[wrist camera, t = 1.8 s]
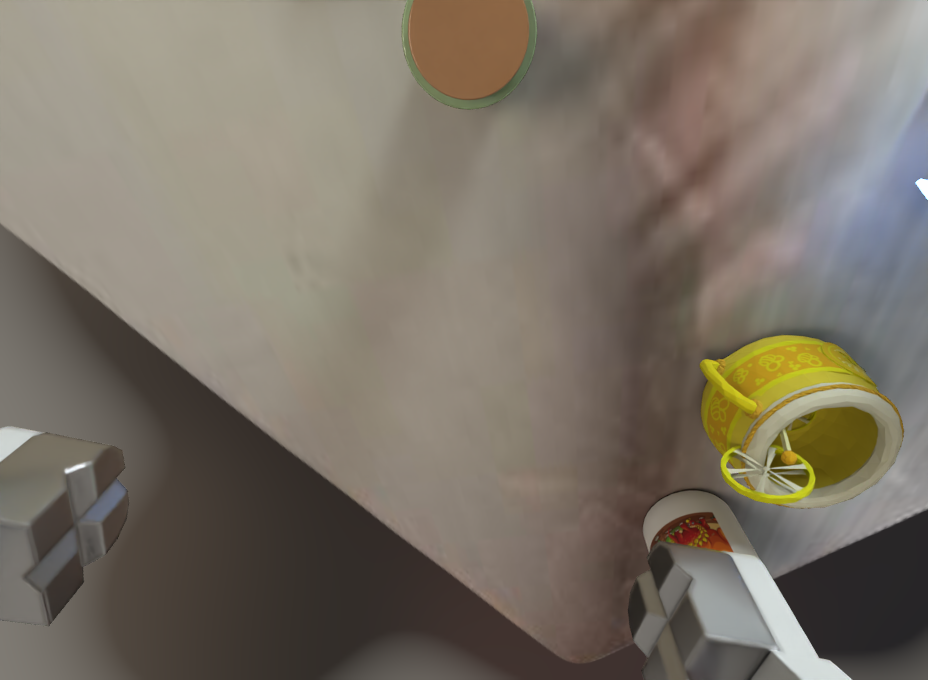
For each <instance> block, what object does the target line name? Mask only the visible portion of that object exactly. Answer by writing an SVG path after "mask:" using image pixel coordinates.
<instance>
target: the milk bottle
mask: <svg viewBox="0 0 928 680" xmlns="http://www.w3.org/2000/svg"><path fill="white" fill-rule="evenodd" d="M643 535H644V538H645V541H646V545H647V548H648V551H649V552H650V551H651V549H652V547H653V546H654V545H655V544H656V543H658V542H659V541H665V542H671V543H677V544H683V545H689V546H695V547H701V548H708V549H714V550H719V551H727V552H733V553H740V554H746V555H752V556H756V557H757V558H758V559H759V560H760V558H759V557H758V555H757V553H756V551H755V550H754V548H753V546H752V545H751V543H750V541H749V539H748V538H747V536H746V534H745V532H744V531H743V529H742V527H741V526H740V524H739V522H738V520H737V519H736V517H735V515H734V514H733V512H732V511H731V509H730V507H729V506H728V505H727V504H726V503H725V502H724V501H723V500H721V499H720V498H718V497H717V496H715V495H713V494H710V493H707V492H703V491H690V490H689V491H682V492H678V493H674V494H671V495H669V496H667V497H664V498H663V499H661V500H660V501H658V502H657V503H656V504H655V505H654V506H652V507H651V509H650V510H649V512H648V513H647V515H646V517H645V520H644V525H643ZM760 561H761V560H760Z"/></svg>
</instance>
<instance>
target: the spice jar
mask: <svg viewBox="0 0 928 680" xmlns="http://www.w3.org/2000/svg"><path fill="white" fill-rule="evenodd" d="M536 39H537V22H536V14H535V10H534V6H533V3H532V0H407V3H406V5H405V9H404V14H403V19H402V45H403V50H404V55H405V58H406V61H407V64H408V66H409V68H410V70H411V73H412V74H413V76H414V78H415V79H416V81H417V82H418V83H419V85H420V86H421V87H422V88H423V89H424V90H425V91H426V92H427V93H428V94H429V95H430V96H432V97H433V98H434V99H436V100H437V101H439V102H441V103H443V104H445V105H448V106H450V107H454V108H458V109H468V110H470V109H479V108H484V107H487V106H490V105H493V104H495V103H497V102H499V101H500V100H502V99H503V98H505V97H506V96H508V95H509V94H510V93H511V92H512V91H513V90H514V89H515V88H516V87H517V86H518V85H519V83H520V82H521V81H522V79H523V78H524V76H525V74H526V73H527V71H528V69H529V66H530V64H531V61H532V59H533V56H534V51H535V47H536Z"/></svg>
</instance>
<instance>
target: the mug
mask: <svg viewBox="0 0 928 680" xmlns="http://www.w3.org/2000/svg"><path fill="white" fill-rule="evenodd" d="M860 367H861V366H860ZM860 367H859V366H858V364H857V363H856V362H855V361H854V360H853V359H852V358H851V357H850V356H849V355H848V354H847V353H846V352H845V351H844V350H843V349H842V348H840V347H839V346H837V345H836V344H833V343H830V342H823V341H821V340H819V339H815V338H809V337H804V336H791V335H780V336H774V337H768V338H763V339H761V340H758V341H756V342H753V343H751V344H748V345H746V346H744V347H743V348H741V349H739V350H738V351H736V352H734V353H733V354H731V355H729V356H728V357H726V358H724V359H718V360H716V361H713V360H708V359H705V360H702V362H701V363H700V369H701V370H702V372H703V374H704V375H705V377H706V378H707V379H708V381H707V384H706V386H705V389H704V391H703V396H702V404H701V418H702V422H703V426H704V429H705V431H706V433H707V435H708V437H709V439H710V440H711V442H712V443H713V444H714V446H715V447H716V449H717V450H718V451H719V452H720V453H721V454H722V455H723V457H722V459H721V472H722V477H723V478H724V480H725V482H726V483H727V484H729V485H730V486H731V487H732V488H733V489H734V490H736V491H737V492H738V493H740V494H742V495H744V496H746V497H749V498H751V499H753V500H755V501H759V502H764V503H772V504H776V505H779V506H785V507H791V508H801V509H804V508H808V509H809V508H822V507H827V506H831V505H834V504H837V503H840V502H843V501H846V500H850V499H853V498H854V497H856V496H857V495H859V494H861V493H862V492H864V491H865V490H867V489H868V488H870V487H872V486H873V485H875V484H876V483H877V482H878V481H879V480H880V479H881V478H882V477H883V476H884V474H885V473H886V472H887V471H888V470H889V469H890V468H891V466H892V465H893V464H894V463H895V460H896V457H897V454H898V452H899V449H900V447H901V444H902V441H903V437H904V435H903V433H904V429H903V423H902V420H901V416H900V414H899V412H898V410H897V408H896V407H895V405H894V404H893V403H892V402H891V401H890V400H889V399H888V398H887V397H886V396H884V395H882V394H880V393H879V391H878V390H877V388H876V387H877V385H876V384H875V383H874V382H873V381H872V380H871V379H870V378H869V377H868V375H867V374H866V373H865V372H866V371H865V372H864V370H863V369H861V368H862V367H861V368H860ZM727 461H728V462H729V463H730V464H731V465H732V466H733V467H734V468H735V469H728V468H726V463H727ZM732 473H739V474H732ZM741 477H744V479H745V481H746V482H747V485H748V486H750V489H751V490H750V489H748V488H746V487H744V486H742V485H741V484H739V483H737V482H736V481H735V480H734V479H733V478H741Z"/></svg>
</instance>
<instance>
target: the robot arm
mask: <svg viewBox="0 0 928 680" xmlns="http://www.w3.org/2000/svg"><path fill="white" fill-rule="evenodd" d="M916 184H917V186H918V187H919V188H920V190H921V191H922V192H923V194H924V195H925V197H926V198H927V199H928V180H925V179H919V180H918V181H917V182H916ZM124 469H125V463H124V457H123V451H122V450H121V449H119V448H117V447H115V446H112V445H107V444H102V443H97V442H92V441H86V440H82V439H77V438H72V437H67V436H61V435H57V434H51V433H47V432H46V433H42V432H37V431H32V430H28V429H23V428H17V427H12V426H8V427H4V428H0V620H2V621H10V622H18V623H27V624H35V625H44V626H50V624H51V623H52V622H53V621H54V619H55V618H56V617H57V615H58V614H59V613H60V612H61V610H62V609H63V608H64V607H65V605H66V604H67V603H68V602H69V600H70V599H71V598H72V597H73V595H74V594H75V593H76V592H77V590H78V589H79V588H80V586H81V585H82V584H83V582H84V578H83V567H84V566H86V565H88V564H90V563H92V562H94V561H96V560H98V559H99V558H101V557H103V556H105V555H106V554H107V552H108V551H109V550H110V548H111V547H112V546H113V544H114V543H115V542H116V540H117V539H118V537H119V534H120V532H121V530H122V528H123V526H124V524H125V521H126V519H127V513H128V507H129V497H128V491H127V489H126V488H125V487H124V486H123V485H122V484H121V483H120V482H119V480H118V479H117V476H118V475H119V474H120V473H121V472H122V471H123V470H124ZM647 559H648V562H649V565H650V568H651V569H650V570H648V571H647V572H645V573H643V574H641V575H640V576H638V577H637V578H636V580H635V582H634V585H633V587H632V589H631V591H630V598H629V606H628V614H629V625H630V629H631V633H632V637H633V641H634V642H635V643H636V644H637V646H638V647H639V648H640V649H641V650H642V651H643V653H644V654H645V655H646V656H647V660H646V662H645V664H644V666H643V668H642V674H643V678H644V680H852V679H851V678H849V677H848V676H847V675H846V674H845V673H843V671H841V670H840V669H839V668H838V667H837V666H836V665H834V664H833V663H832V662H831V661H830V660H825V659H821V658H819V657H818V656H817V654H816V652H815V650H814V649H813V647H812V645H811V644H810V642H809V640H808V639H807V637H806V635H805V633H804V632H803V630H802V628H801V626H800V625H799V623H798V622H797V620H796V618H795V616H794V615H793V613H792V611H791V610H790V608H789V606H788V604H787V603H786V601H785V599H784V597H783V596H782V594H781V592H780V591H779V589H778V587H777V586H776V584H775V582H774V580H773V579H772V577H771V575H770V574H769V572H768V570H767V568H766V567H765V565H764V564H763V563H762V562H761V561H760V560H759V559H758V558H757V557H756V556H752V555H746V554H740V553H733V552H727V551H719V550H714V549H708V548H701V547H695V546H689V545H683V544H677V543H671V542H665V541H659V542H658V543H656V544H655V545H654V546H653V547H652V549H651V551H650V552H649V554H648V556H647Z"/></svg>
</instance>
